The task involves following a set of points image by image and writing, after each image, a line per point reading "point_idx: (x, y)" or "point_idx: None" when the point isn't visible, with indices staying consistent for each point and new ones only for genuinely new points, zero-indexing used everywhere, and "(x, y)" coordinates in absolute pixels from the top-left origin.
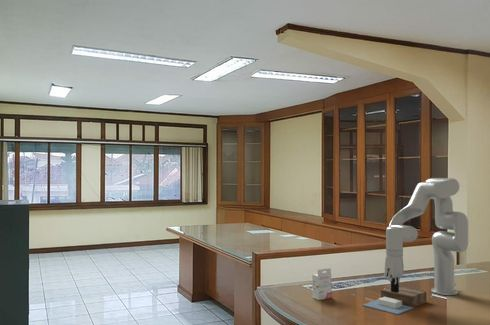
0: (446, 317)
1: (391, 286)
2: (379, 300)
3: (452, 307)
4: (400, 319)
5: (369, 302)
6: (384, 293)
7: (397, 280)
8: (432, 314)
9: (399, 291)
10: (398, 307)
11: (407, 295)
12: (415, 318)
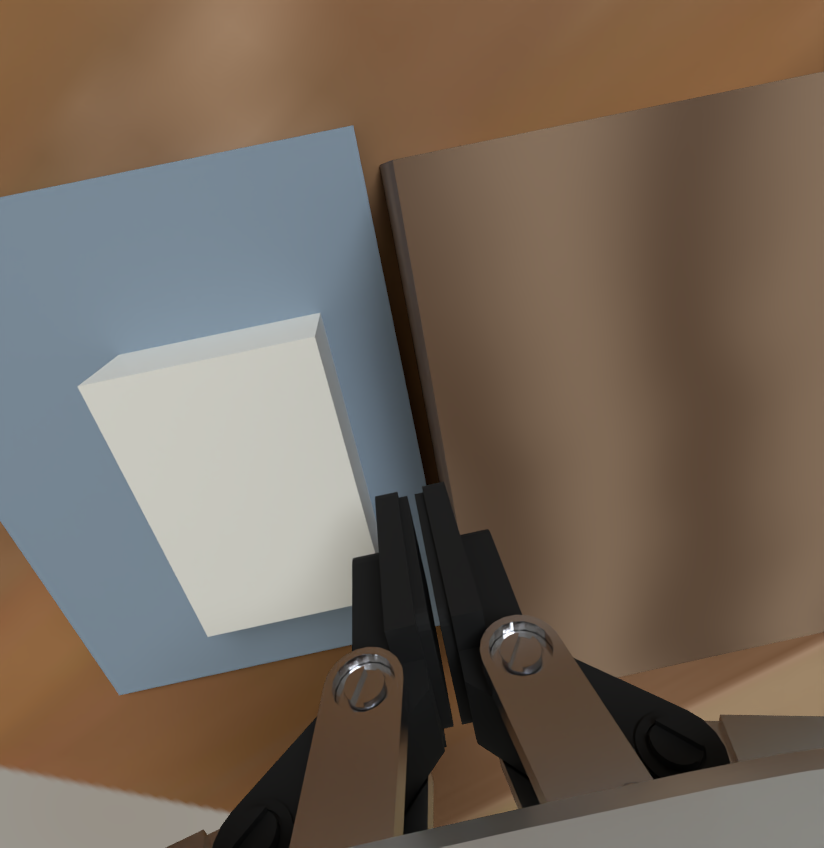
0: (466, 816)
1: (380, 576)
2: (102, 410)
3: (764, 701)
4: (58, 761)
5: (33, 200)
6: (406, 254)
7: (518, 803)
8: (442, 756)
9: (620, 451)
10: None
11: None
12: (217, 777)
